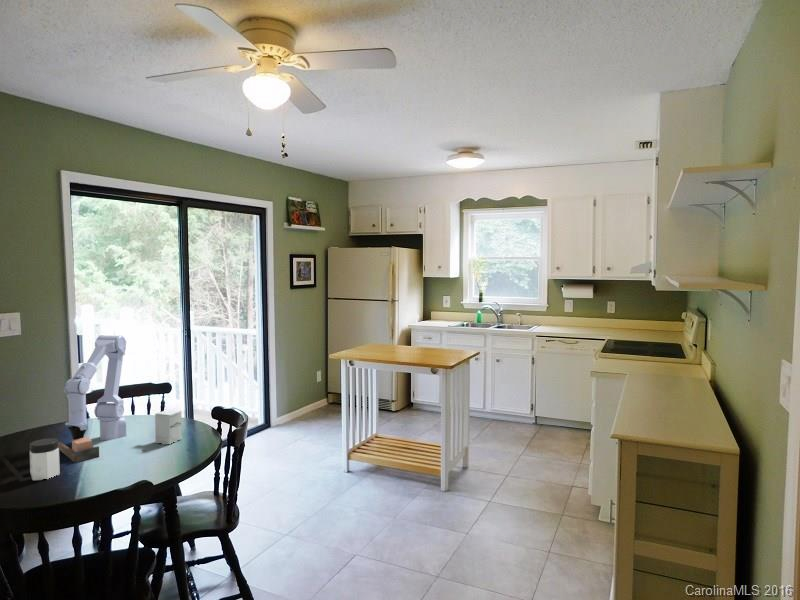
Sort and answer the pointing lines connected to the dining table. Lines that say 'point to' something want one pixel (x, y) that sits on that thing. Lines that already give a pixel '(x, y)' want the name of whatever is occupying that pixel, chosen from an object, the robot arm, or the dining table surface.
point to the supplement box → (168, 426)
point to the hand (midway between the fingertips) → (78, 444)
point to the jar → (44, 459)
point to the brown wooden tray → (79, 453)
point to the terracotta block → (81, 444)
